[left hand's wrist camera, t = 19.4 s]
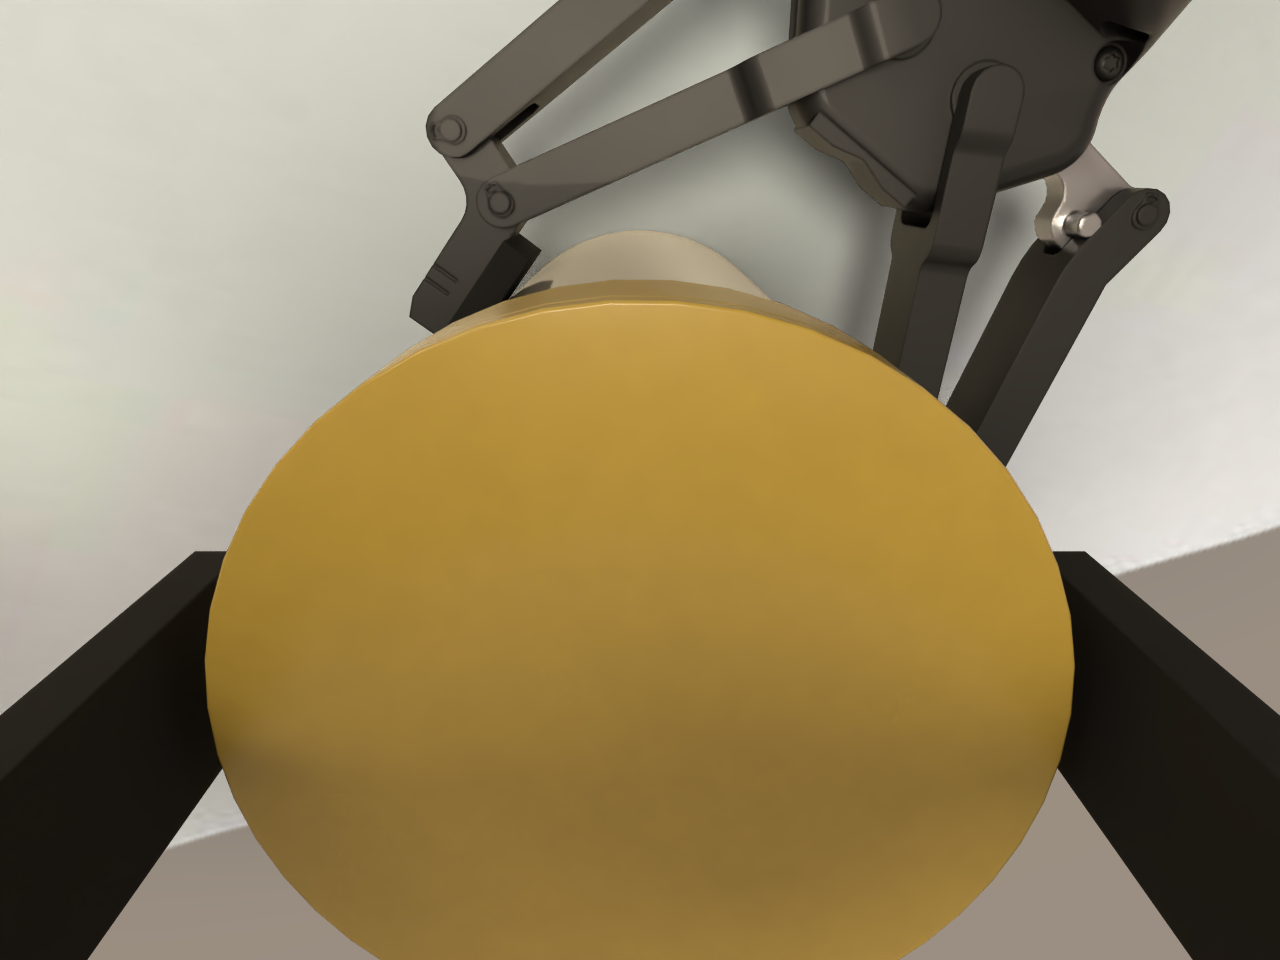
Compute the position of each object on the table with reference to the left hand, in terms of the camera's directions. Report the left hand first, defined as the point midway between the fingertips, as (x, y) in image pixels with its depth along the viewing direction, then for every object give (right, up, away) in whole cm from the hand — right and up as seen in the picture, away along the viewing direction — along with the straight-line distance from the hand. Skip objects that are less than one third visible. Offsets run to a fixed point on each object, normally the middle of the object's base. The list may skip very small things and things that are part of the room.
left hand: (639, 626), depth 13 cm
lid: (0, -1, -2) cm, 2 cm away
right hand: (-2, 0, +11) cm, 11 cm away
